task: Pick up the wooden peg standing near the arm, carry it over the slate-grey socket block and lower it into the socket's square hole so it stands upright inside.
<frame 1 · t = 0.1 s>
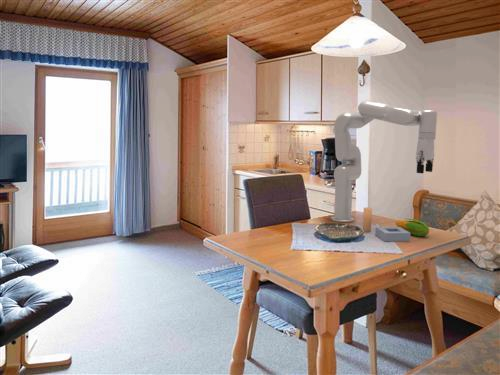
hand: (424, 172, 205), 31 cm above the table, tool pointing down, fingers open, 9 cm apart
peg: (366, 231, 216), on the table
corn: (410, 234, 213), on the table
socket block: (392, 238, 203), on the table
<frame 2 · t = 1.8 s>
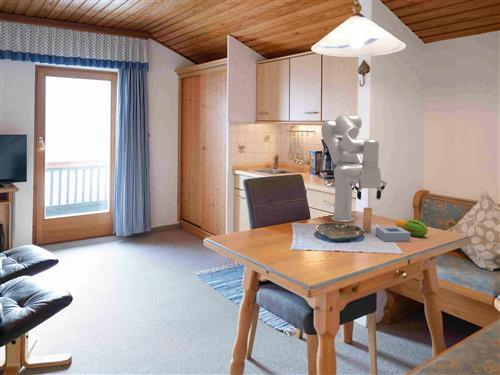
hand: (368, 199, 213), 17 cm above the table, tool pointing down, fingers open, 9 cm apart
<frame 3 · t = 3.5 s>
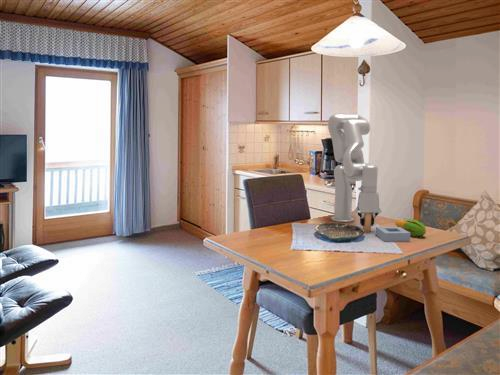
hand: (367, 225, 215), 3 cm above the table, tool pointing down, fingers closed on peg, 4 cm apart
peg: (366, 231, 216), on the table, touching gripper
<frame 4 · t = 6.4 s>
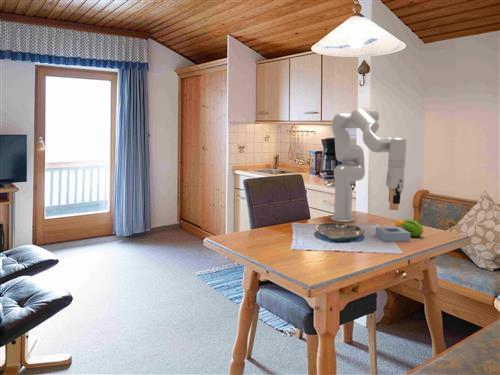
hand: (394, 202, 201), 17 cm above the table, tool pointing down, fingers closed on peg, 4 cm apart
peg: (393, 209, 201), point 14 cm above the table, touching gripper
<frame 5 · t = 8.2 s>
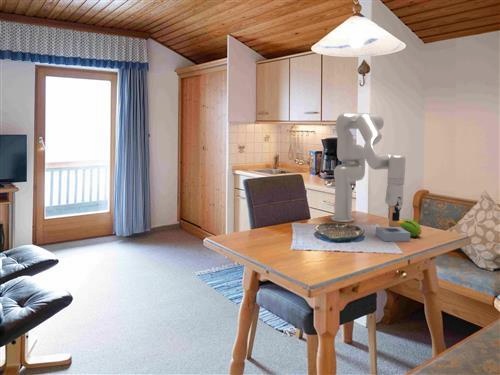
hand: (393, 219, 202), 9 cm above the table, tool pointing down, fingers closed on peg, 4 cm apart
peg: (393, 226, 202), point 6 cm above the table, touching gripper
when the fingers open (5 cm above the table, at t = 9.6 s): peg drops 2 cm, resting in socket block.
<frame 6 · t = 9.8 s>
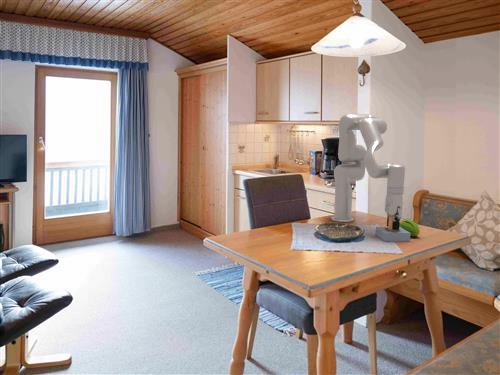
hand: (392, 227, 203), 5 cm above the table, tool pointing down, fingers open, 5 cm apart
peg: (392, 238, 204), resting in socket block
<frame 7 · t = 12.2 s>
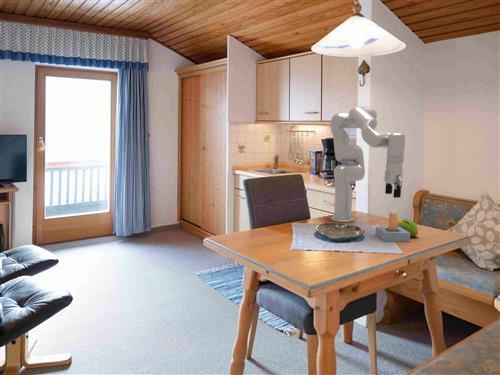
hand: (392, 195, 202), 20 cm above the table, tool pointing down, fingers open, 9 cm apart
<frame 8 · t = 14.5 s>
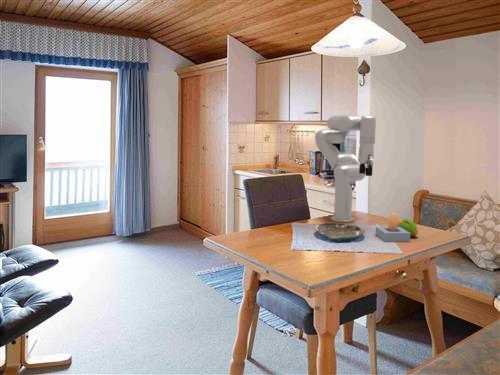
hand: (365, 174, 217), 28 cm above the table, tool pointing down, fingers open, 9 cm apart
at the end: peg 0.1 cm off-centre on the socket block, point 0.0 cm above the socket block's base; peg tilted 0°; the gripper is holding nothing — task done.
